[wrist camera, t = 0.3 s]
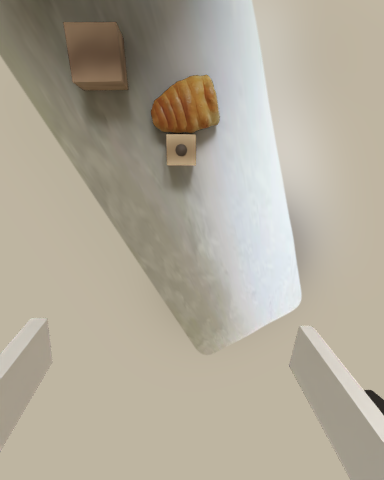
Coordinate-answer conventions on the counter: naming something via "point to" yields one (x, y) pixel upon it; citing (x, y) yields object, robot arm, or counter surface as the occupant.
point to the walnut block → (96, 55)
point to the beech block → (181, 149)
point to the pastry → (187, 106)
